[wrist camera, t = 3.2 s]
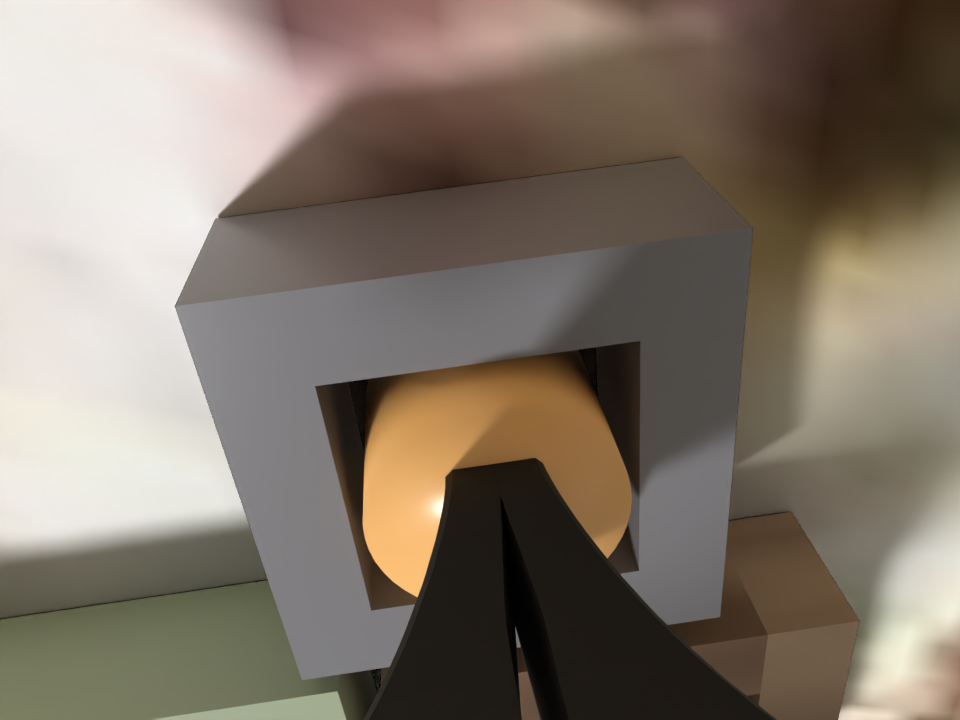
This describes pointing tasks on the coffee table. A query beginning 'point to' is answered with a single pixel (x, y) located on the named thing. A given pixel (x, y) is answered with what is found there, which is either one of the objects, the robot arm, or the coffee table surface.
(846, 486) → the coffee table surface
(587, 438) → the button
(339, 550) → the button housing
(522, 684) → the socket block
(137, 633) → the frame
